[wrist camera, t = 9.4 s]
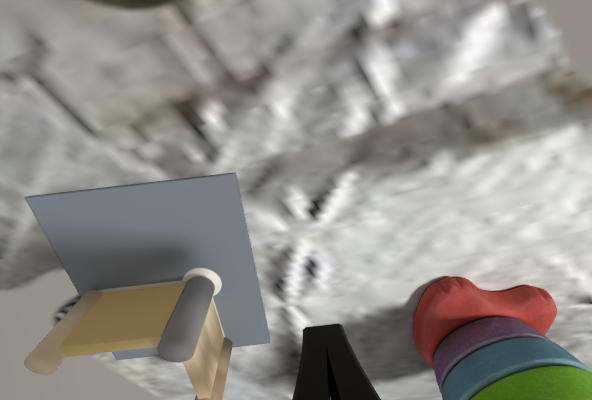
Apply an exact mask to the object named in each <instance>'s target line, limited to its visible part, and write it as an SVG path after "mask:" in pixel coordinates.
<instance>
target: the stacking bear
mask: <svg viewBox="0 0 592 400" xmlns="http://www.w3.org/2000/svg"><path fill="white" fill-rule="evenodd" d="M556 314H557V308H556V306H555V302H554V301H553V299H552V297H551V296H550V294H549V293H548V292H547V291H545V290H544V289H541V288H535V287H533V286H522V287H518V288H515V289H512V290H508V291H503V292H490V291H485V290H481V289H479V288H477V287H476V286H475V285H474V284H473V283H472V282H470V281H469V280H467V279H465V278H453V277H446V278H444V279H442V280H440V281H438V282H435V283H434V284H432V285H431V286H430V287H429V288H428V289H427V290H426V291H425V293H424V294H423V296H422V298H421V300H420V302H419V305H418V307H417V310H416V314H415V318H414V326H413V331H414V340H415V344H416V346H417V348H418V351H419V353H420V354H421V356H422V357H423V359H424V360H425V361H426V362H427V364H428V365H429V366H430V367H432V368H433V369H434V371H435V375H436V380H437V383H438V386H439V389H440V392H441V394H442V399H443V400H592V372H591V371H590V370H589V369H588V368H587V367H586V366H585V365H584V364H583V363H581V362H580V361H579V360H578V359H576V358H575V357H574V356H573V355H571V354H570V353H569V352H567V351H566V350H565V349H563V348H562V347H561V346H559V345H558V344H556V343H554V342H552V341H551V340H550V339H548V338H547V337H546V336H545V334H546V333H547V331H548V330H549V328H550V326H551V325H552V323H553V321H554V319H555V317H556Z"/></svg>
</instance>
